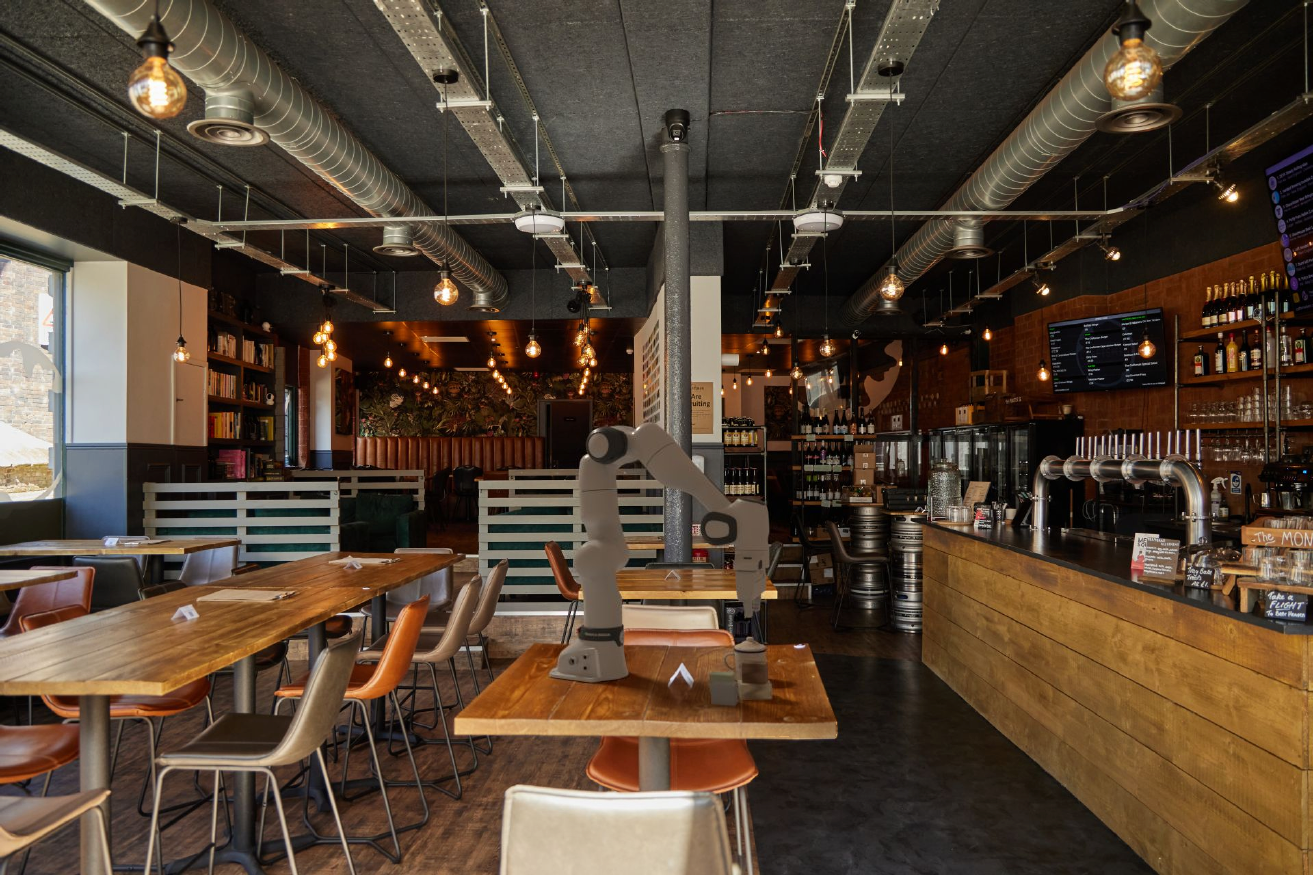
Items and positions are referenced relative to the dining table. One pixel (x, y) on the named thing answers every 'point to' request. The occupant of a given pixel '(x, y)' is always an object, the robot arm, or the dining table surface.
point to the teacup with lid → (746, 655)
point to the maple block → (754, 691)
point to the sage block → (721, 677)
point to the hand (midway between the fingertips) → (752, 614)
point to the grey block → (724, 693)
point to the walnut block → (754, 672)
